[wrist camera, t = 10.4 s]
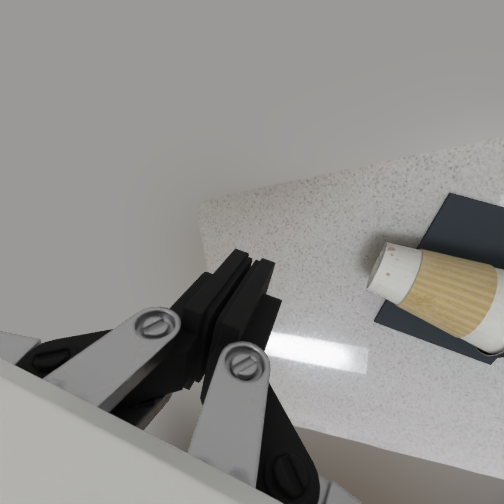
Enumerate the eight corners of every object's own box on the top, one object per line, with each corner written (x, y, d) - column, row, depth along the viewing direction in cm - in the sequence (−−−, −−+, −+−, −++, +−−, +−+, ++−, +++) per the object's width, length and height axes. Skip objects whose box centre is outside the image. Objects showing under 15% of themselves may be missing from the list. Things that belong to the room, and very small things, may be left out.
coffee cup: (362, 288, 39) (480, 336, 34) (358, 315, 30) (517, 385, 25) (391, 224, 36) (526, 267, 31) (397, 233, 27) (586, 295, 22)
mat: (449, 192, 31) (450, 193, 30) (612, 237, 28) (616, 239, 28) (374, 320, 40) (374, 321, 40) (489, 362, 38) (490, 364, 37)
